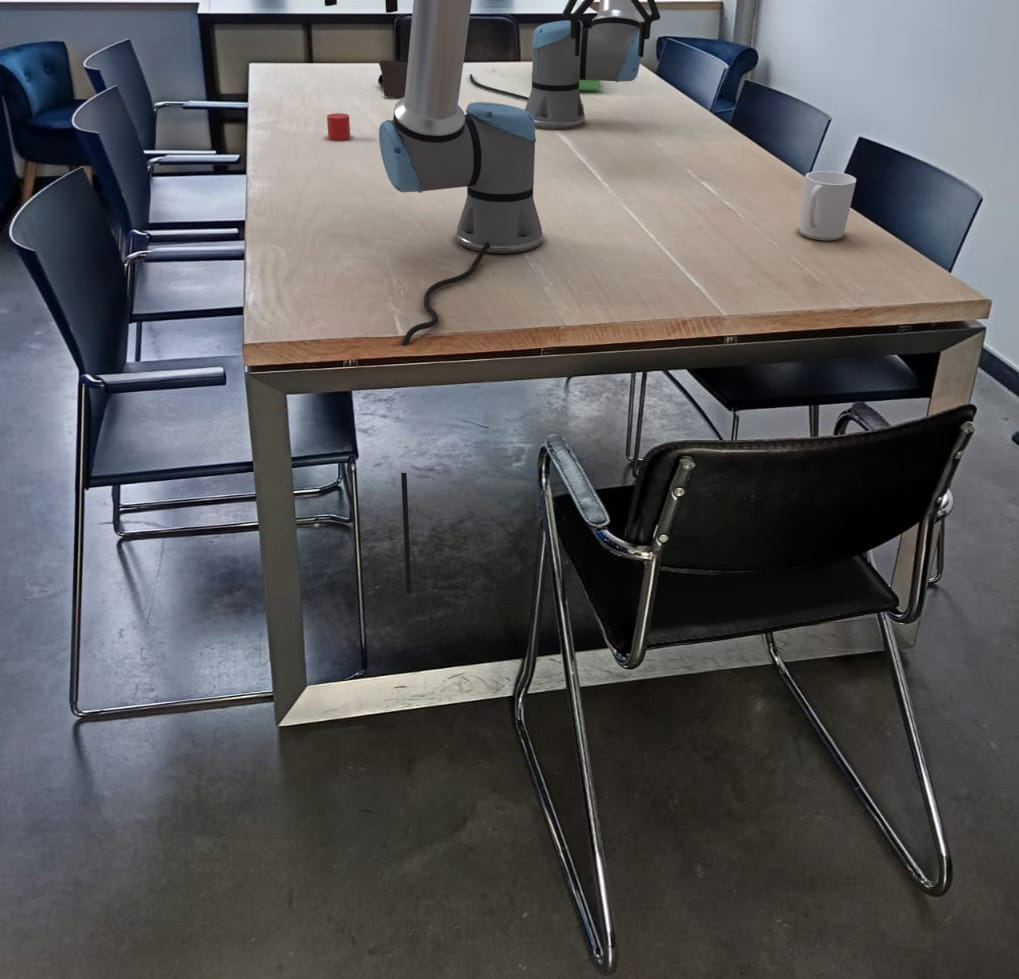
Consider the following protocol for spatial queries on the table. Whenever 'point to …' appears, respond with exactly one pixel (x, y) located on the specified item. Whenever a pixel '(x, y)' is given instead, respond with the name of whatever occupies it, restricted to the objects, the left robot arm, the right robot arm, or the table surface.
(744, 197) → the table surface
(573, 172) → the table surface
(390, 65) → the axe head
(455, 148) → the left robot arm
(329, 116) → the red cylinder
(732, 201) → the table surface
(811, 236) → the mug
